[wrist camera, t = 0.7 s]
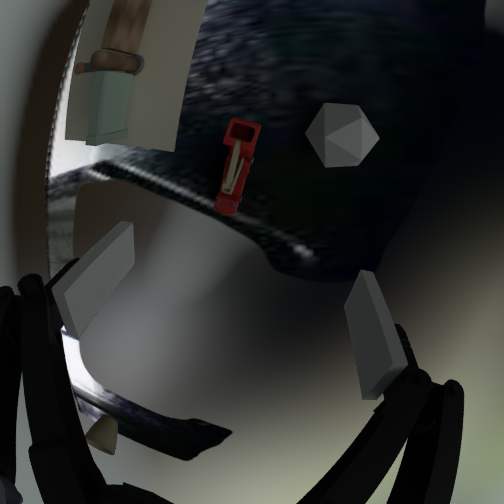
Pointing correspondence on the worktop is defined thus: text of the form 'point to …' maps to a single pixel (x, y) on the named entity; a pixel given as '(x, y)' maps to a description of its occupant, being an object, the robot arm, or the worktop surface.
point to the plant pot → (103, 435)
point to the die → (341, 135)
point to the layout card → (140, 72)
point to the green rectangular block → (108, 107)
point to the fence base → (122, 36)
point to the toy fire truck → (236, 163)
